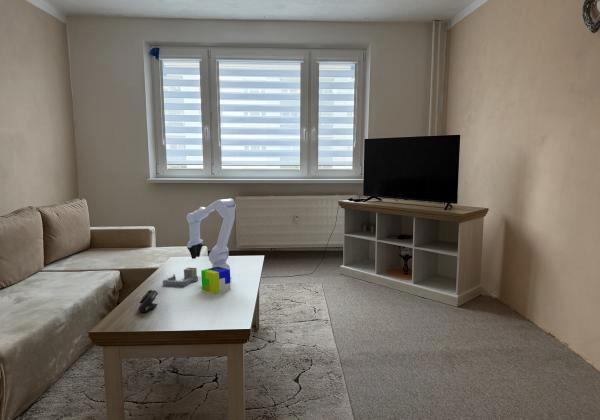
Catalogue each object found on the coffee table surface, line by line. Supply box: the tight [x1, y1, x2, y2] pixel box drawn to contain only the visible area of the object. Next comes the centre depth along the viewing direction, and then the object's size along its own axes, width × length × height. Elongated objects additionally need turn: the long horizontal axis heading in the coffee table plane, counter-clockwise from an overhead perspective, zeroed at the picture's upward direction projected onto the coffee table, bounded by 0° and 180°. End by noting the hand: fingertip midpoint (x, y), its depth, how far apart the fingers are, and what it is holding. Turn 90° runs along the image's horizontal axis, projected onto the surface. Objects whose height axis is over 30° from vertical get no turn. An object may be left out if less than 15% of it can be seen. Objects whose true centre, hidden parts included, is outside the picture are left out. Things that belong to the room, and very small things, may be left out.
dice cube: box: [183, 266, 198, 280], centre depth 229 cm, size 5×5×5 cm
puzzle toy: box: [200, 267, 232, 295], centre depth 206 cm, size 10×10×10 cm
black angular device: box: [137, 289, 159, 314], centre depth 179 cm, size 12×8×7 cm
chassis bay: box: [162, 274, 199, 288], centre depth 218 cm, size 13×15×3 cm
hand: (195, 257), depth 235 cm, fingers open, 4 cm apart
